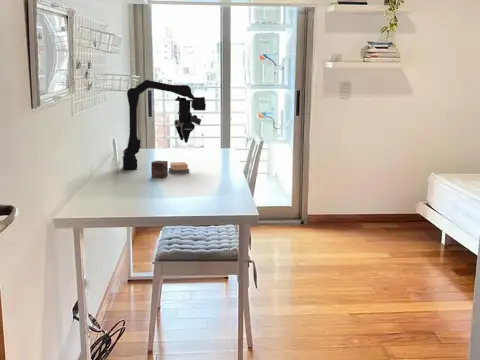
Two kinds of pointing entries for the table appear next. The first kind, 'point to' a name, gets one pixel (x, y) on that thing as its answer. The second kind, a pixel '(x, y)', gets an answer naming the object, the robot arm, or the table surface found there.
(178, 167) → the tile
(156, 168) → the box
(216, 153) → the table surface
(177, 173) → the block
